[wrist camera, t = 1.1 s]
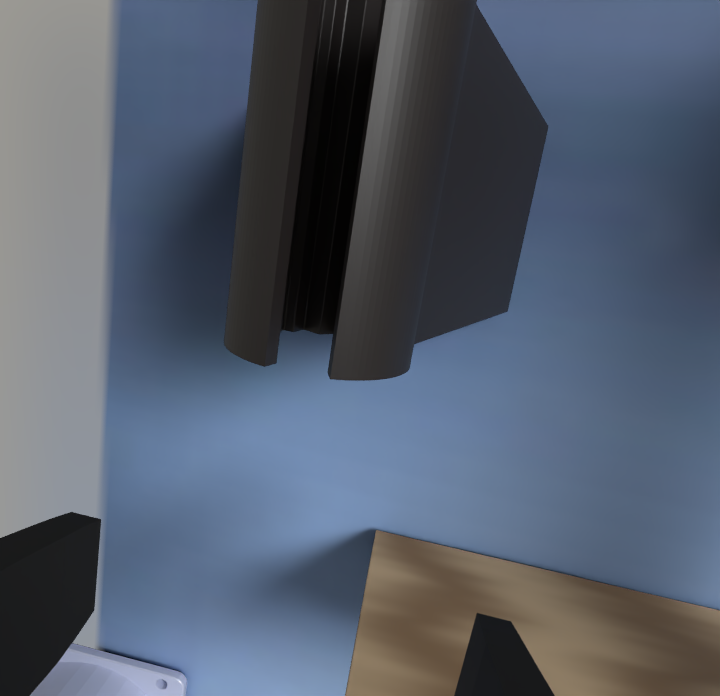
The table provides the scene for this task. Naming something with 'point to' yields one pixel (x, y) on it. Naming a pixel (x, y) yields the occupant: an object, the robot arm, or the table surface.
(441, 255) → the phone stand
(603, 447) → the table surface
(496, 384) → the table surface
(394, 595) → the door
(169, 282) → the table surface
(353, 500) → the table surface
